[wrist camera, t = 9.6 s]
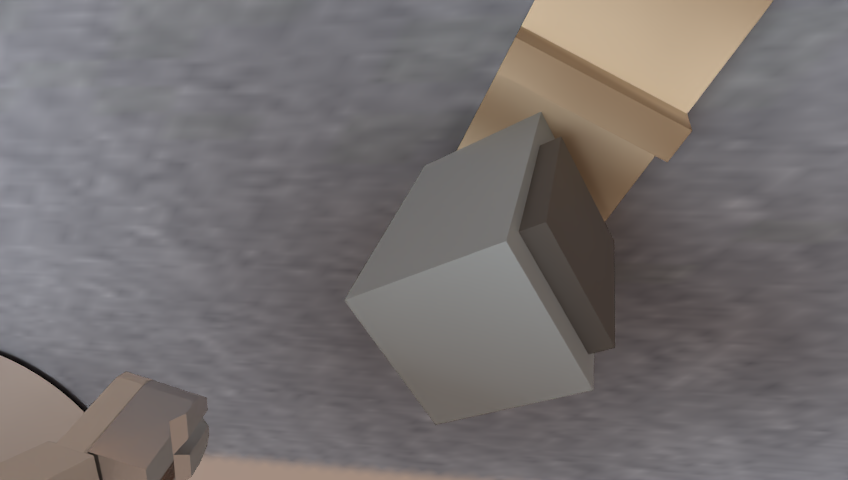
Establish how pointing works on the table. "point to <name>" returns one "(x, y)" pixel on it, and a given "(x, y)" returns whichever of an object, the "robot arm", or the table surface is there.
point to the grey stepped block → (493, 278)
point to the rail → (614, 79)
